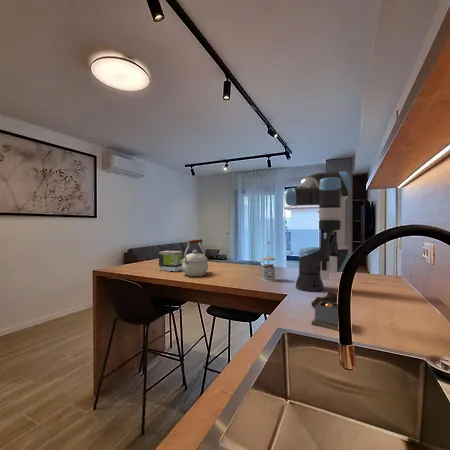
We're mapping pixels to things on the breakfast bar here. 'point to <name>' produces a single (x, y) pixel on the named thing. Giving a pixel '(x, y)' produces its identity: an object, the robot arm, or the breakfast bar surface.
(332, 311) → the grey open box
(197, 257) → the kettle
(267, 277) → the french press
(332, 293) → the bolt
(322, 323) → the keeper base
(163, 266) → the tea box
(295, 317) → the breakfast bar surface
